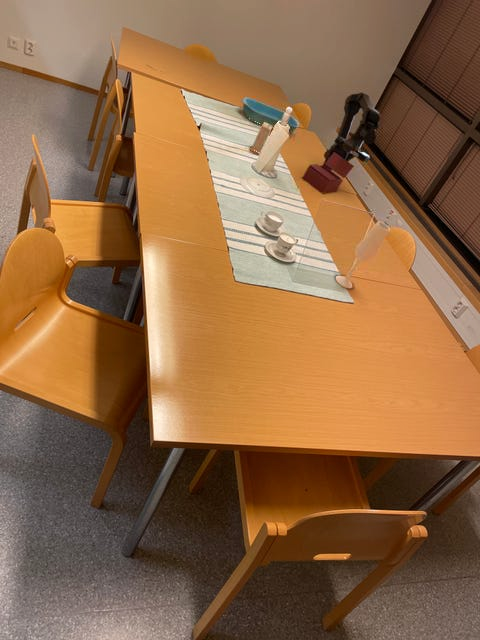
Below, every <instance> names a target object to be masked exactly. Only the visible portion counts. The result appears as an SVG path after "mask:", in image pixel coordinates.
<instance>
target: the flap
mask: <svg viewBox="0 0 480 640" xmlns="http://www.w3.org/2000/svg"><path fill="white" fill-rule="evenodd" d="M325 165H326V166H328V167H329V168H330V169H332V172H334V173H335V174H336V175H338V176H339V177H340V178H342V179H345V178H346V177H347V176H348V174H349V173H350V172H351V171H352V169H353V168H355V165H354V164H352V163H350V162H348V161H346V160H345V159H344V158H342V157H341V156H339V155H338V154H337V153H335V152H334V153H333V154H332V155H331V156H330V158H329V159H328V160H327V162H326V163H325Z"/></svg>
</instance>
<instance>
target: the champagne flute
mask: <svg viewBox="0 0 480 640" xmlns="http://www.w3.org/2000/svg"><path fill="white" fill-rule="evenodd" d="M390 230H391V229H390V227H389V226H388V225H387V224H386V223H384V222H383V221H376V223H375V224H374V225H373V226H372V227H371V229H370V230H369V231H368V232H367V233H366V235H365V236H364V237H363V238H362V240H361V241H360V242H358V244H357V246H356V247H355V251H354V252H355V258H356V261H355V263H354V264H353V266H352V267H351V269H350V270H349V271H348V273H347V274H346V276H344V275H337V276H335V280H336V281H337V283H338V284H339V285H340V286H341V287H343V288H346V289H353V283H352V282H351V280H350V277H351V276H352V275H353V274H354V272H355V271H356V269H357V267H358V266H359V265H360V264H361V263H365V262H369V261H372V260H374V258H375V256H376V254H377V253H378V251H379V249H380V247H381V246H382V244H383V242H384V240H385V238H386V237H387V236H388V234H389V232H390Z"/></svg>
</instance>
